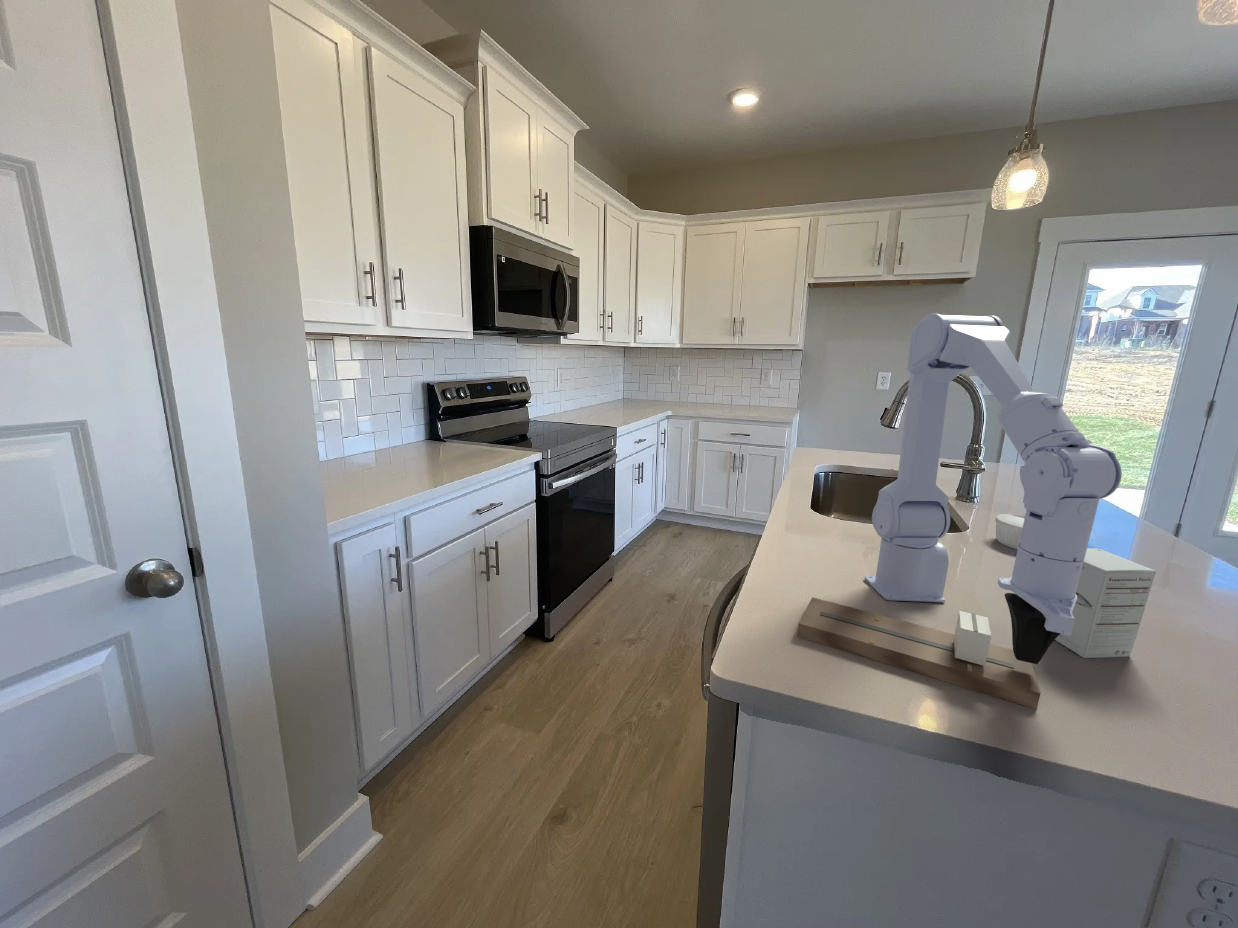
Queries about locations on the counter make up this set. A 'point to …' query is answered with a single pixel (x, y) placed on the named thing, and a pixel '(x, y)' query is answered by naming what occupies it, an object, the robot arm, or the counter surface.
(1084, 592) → the supplement box
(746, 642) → the counter surface
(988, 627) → the fader knob
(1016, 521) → the ramekin
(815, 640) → the fader board
